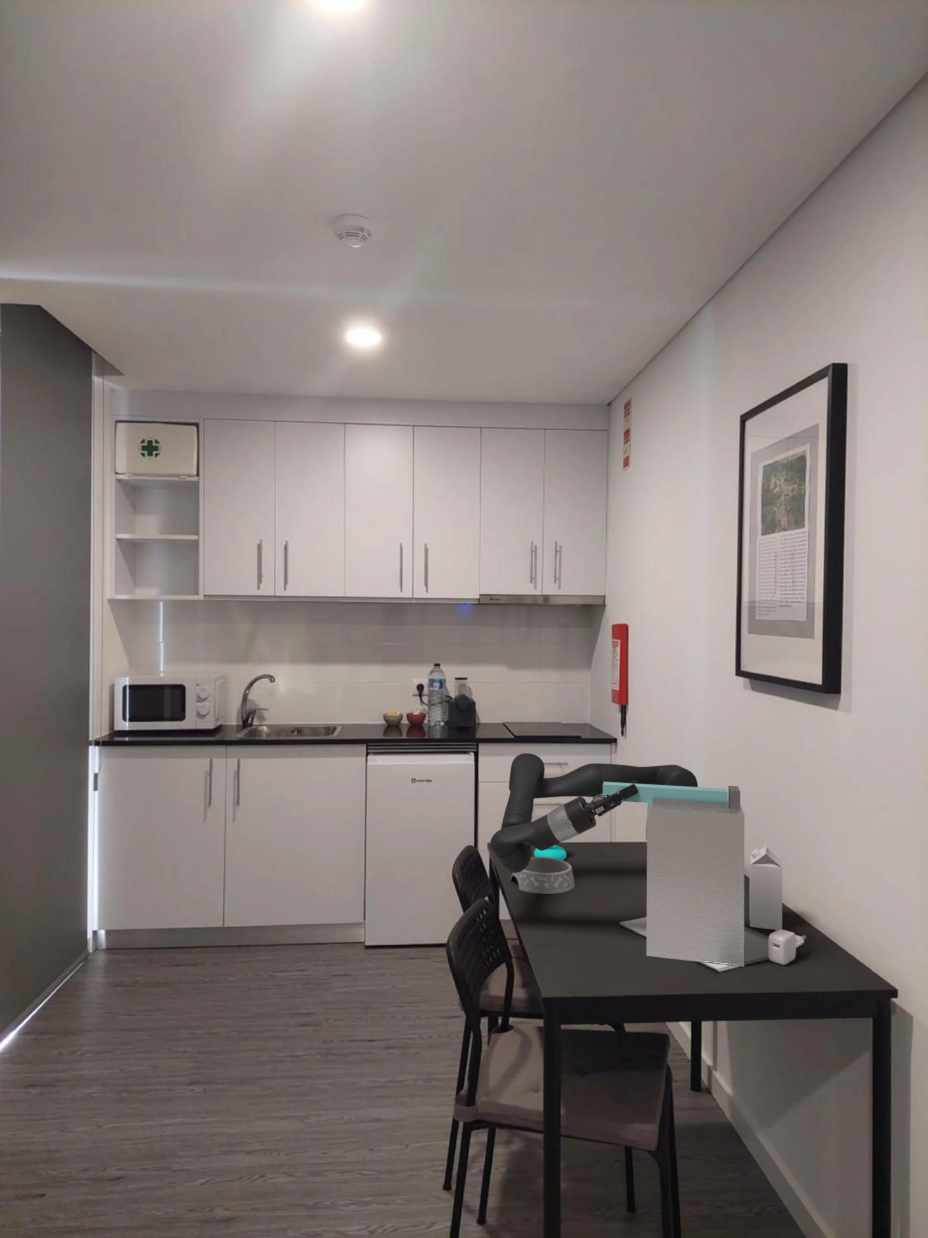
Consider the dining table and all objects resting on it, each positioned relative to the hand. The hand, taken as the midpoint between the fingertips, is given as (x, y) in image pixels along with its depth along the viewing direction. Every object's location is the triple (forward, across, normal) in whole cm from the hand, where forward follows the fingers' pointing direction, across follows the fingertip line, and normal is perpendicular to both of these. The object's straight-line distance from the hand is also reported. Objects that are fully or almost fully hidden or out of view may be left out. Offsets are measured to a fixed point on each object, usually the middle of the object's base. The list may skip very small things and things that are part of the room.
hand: (636, 786), depth 177 cm
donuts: (-42, -60, -17) cm, 75 cm away
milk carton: (+8, -20, -46) cm, 51 cm away
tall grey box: (-7, 0, -37) cm, 37 cm away
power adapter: (+10, -1, -47) cm, 48 cm away
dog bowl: (-41, -36, -18) cm, 57 cm away
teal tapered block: (+4, 0, -6) cm, 7 cm away
